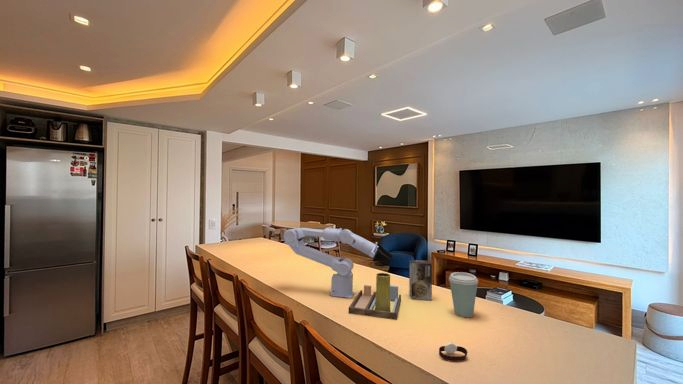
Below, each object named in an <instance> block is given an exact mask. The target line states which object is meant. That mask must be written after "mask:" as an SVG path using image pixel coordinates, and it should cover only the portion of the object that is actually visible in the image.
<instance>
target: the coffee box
mask: <svg viewBox="0 0 683 384" xmlns="http://www.w3.org/2000/svg"><path fill="white" fill-rule="evenodd" d="M432 271H433V263H432V262H431V261H430V260H420V259H419V260H417V259H412V260H411V259H409V273H408V274H409V280H408V282H409V283H408V285H409V286H408V287H409V289H408V293H409V294H408V295H409V298H410V299H411V300H415V301H417V300H418V301H419V300H420V301H432V300H433V299H432V298H433V295H432V294H433V287H432V285H433V272H432Z"/></svg>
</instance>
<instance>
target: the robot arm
mask: <svg viewBox="0 0 683 384" xmlns="http://www.w3.org/2000/svg"><path fill="white" fill-rule="evenodd" d="M305 237H316V238H322V239H323V240H324V241H328V242H336V243H337V242H341V244H344V245H345V244H347V245H349V246H351V247H352V248H353V249H356V250H358V251H360V252H362V253H363V254H365V255H368V256H369V257H371V258H373V259H372V262H377V263H383V264H387V265H391V263H392V258H393V254H392V253H390V252H389V251H388V250H387V249H386V248H385V247H384V246H383V244H379V246H378V242H377V241H375V243H374V242H371V241H369V240H367V239H366V238H364V237H362V236H360V235H358V234H355V233H354V232H352V231H351V230H350V229H347V228H344V229H343V228H342V227H340V228H333V227H332V226H328V227H326V228H324V230H323V229H317V228H310V227H295V228H292V229H291V228H290V229H287V230H285V231H284V233H283V239H284V242H285V244H286V245H287V246H288V247H289V248H290V249H291V250H292V251H293V252H294V254H295V255H297V256H300V257H303V258H305V259H307V260H311V261H314V262H316V263H318V264H321V265H324V266H326V267H329V268H331V270H332V271H334V272H336V273H333V274H332V277H331V285H330V296H332V297H338V298H346V299H351V298H353V296H354V295H355V293H356V292H355V291H354V290H353V287H354V286H353V283H354V277H353V276H354V273H353V271H352V270H353V269H354V262H353V260H352V259H350V258H349V257H345V258H343V257H340V256H334V255H331V254H328V253H325V252H324V251H320V250H318V249H315V248H313V247H310V246H307V245H305V242H304V238H305Z"/></svg>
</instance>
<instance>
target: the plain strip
mask: <svg viewBox="0 0 683 384" xmlns="http://www.w3.org/2000/svg"><path fill="white" fill-rule="evenodd" d="M372 295H373V294H372V285H367V284H364V286H363V293H362V296H361V297H360V299H359V300H358V302H357V304H356V305H355V307H356V308H363V309H365V308H366V306H367V304H368V303H369V301H370V299H371V297H372Z"/></svg>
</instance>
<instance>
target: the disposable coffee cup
mask: <svg viewBox="0 0 683 384" xmlns="http://www.w3.org/2000/svg"><path fill="white" fill-rule="evenodd" d="M448 281H449V284H450V285H449V287H450V290H451V292H450V293H451V298H452V304H453V309H454V312H455V313H454V314H455V315H456V316H459V317H463V318H471V317H473V315H474V311H475V305H476V304H475V303H476V298H477V297H476V296H477V291H478V284H479V279H478V278H477V276H475V275H474V274H472V273H468V272H463V271H460V272H459V271H457V272H456V271H455V272H451V273H450V275H449V277H448Z"/></svg>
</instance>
